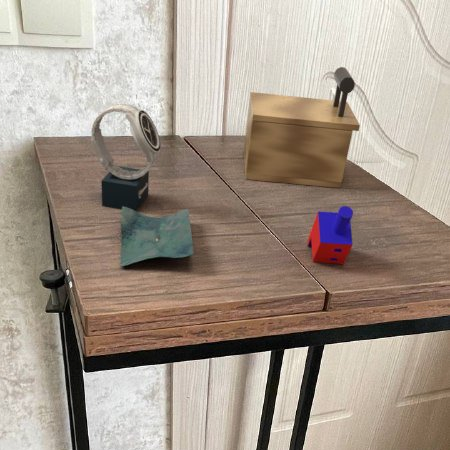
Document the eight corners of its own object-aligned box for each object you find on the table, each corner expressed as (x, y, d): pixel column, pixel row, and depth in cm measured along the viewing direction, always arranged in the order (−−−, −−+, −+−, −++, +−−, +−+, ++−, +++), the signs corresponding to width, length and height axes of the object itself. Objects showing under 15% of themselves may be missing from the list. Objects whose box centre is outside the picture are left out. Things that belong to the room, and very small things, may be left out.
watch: (152, 213, 76) (154, 118, 69) (88, 203, 77) (83, 108, 70) (163, 197, 80) (166, 105, 73) (102, 187, 81) (99, 96, 74)
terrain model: (193, 270, 66) (194, 253, 64) (118, 270, 65) (117, 253, 64) (188, 219, 75) (188, 204, 74) (122, 219, 75) (122, 204, 73)
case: (330, 160, 98) (340, 107, 93) (340, 188, 89) (352, 131, 84) (243, 152, 97) (249, 98, 92) (245, 179, 88) (251, 121, 83)
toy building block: (309, 270, 72) (326, 225, 64) (307, 240, 73) (324, 193, 66) (339, 272, 72) (360, 228, 65) (337, 242, 74) (357, 195, 66)
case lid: (346, 107, 93) (354, 64, 89) (358, 131, 84) (369, 84, 80) (249, 97, 92) (254, 53, 88) (251, 120, 83) (257, 72, 79)
